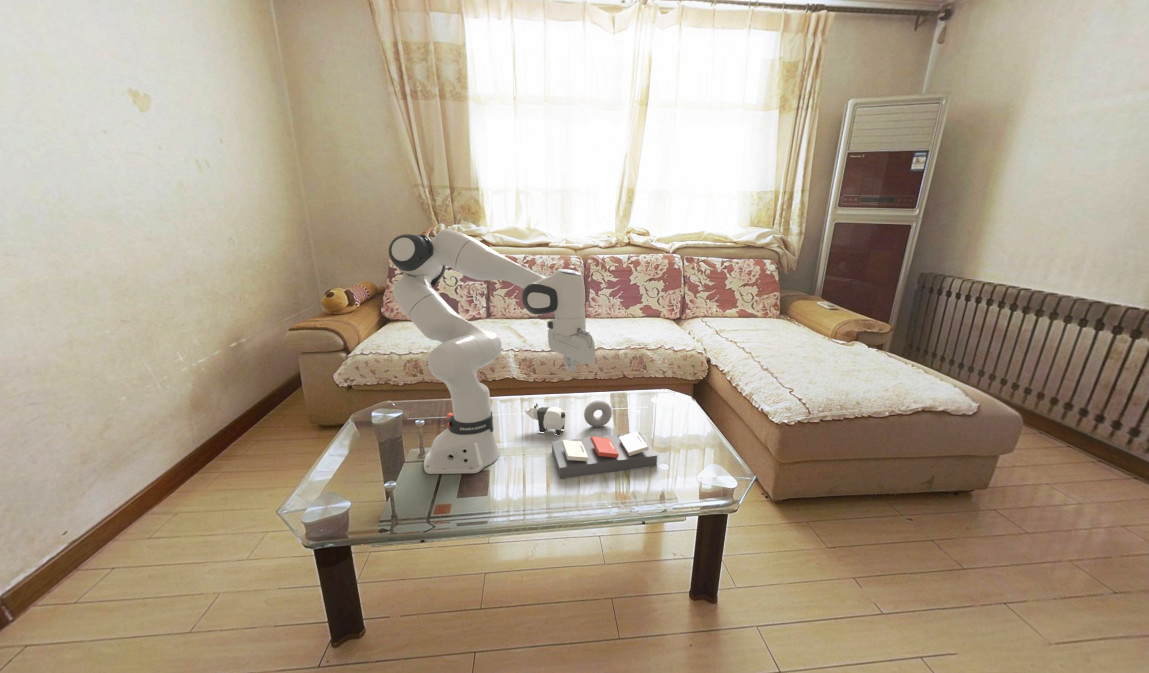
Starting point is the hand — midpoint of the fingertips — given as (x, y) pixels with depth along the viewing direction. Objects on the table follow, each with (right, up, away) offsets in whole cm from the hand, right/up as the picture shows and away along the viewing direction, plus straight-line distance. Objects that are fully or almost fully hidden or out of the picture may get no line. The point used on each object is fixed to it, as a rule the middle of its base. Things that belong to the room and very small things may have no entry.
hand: (571, 370), depth 125 cm
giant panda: (-9, -23, +21) cm, 32 cm away
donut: (+9, -22, +23) cm, 33 cm away
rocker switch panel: (+9, -27, +3) cm, 29 cm away
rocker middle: (+10, -23, -1) cm, 25 cm away
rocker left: (+1, -23, -2) cm, 23 cm away
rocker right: (+19, -22, +1) cm, 29 cm away
